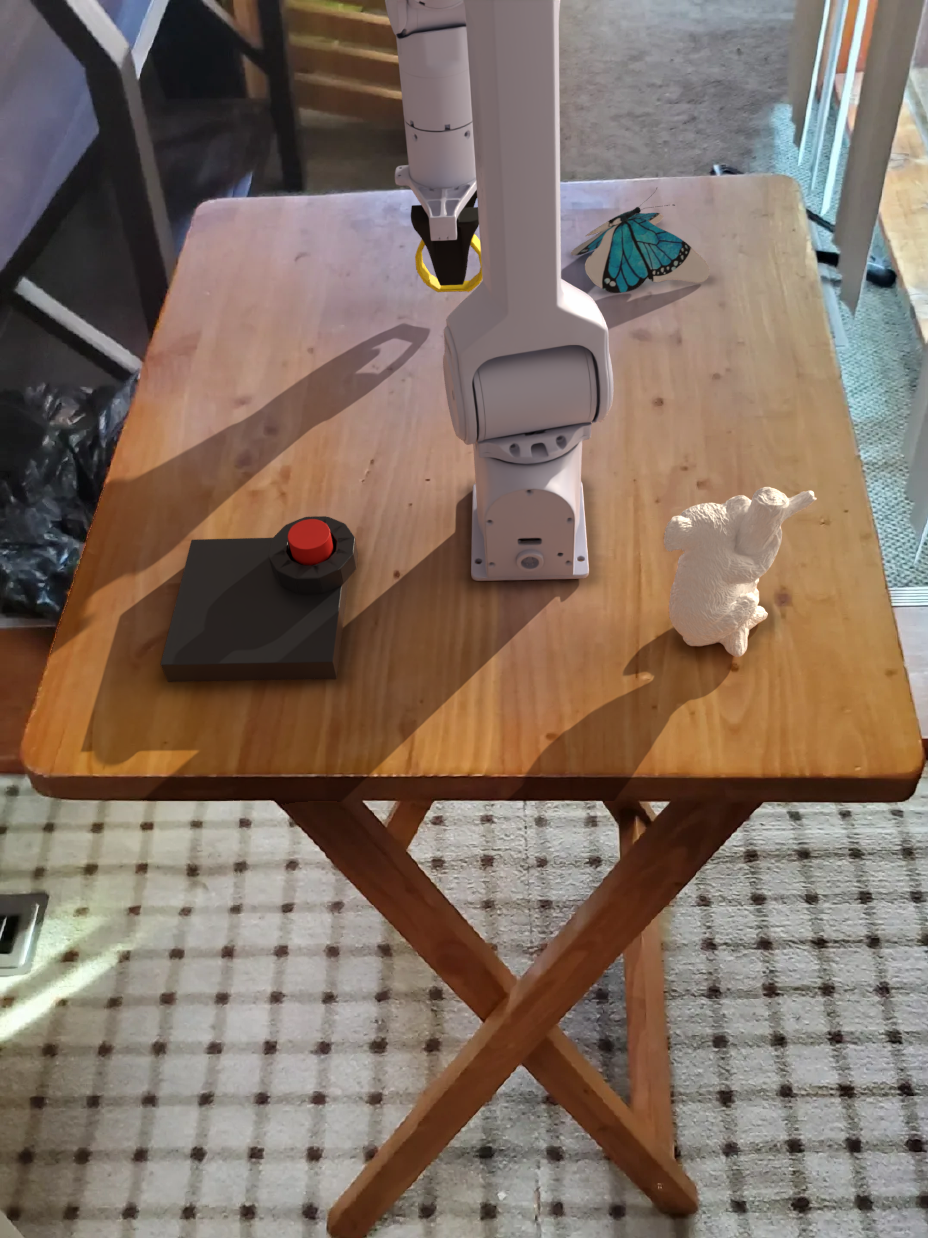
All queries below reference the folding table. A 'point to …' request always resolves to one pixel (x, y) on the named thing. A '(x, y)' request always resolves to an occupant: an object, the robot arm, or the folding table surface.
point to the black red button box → (259, 610)
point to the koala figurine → (726, 564)
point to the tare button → (310, 542)
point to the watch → (433, 281)
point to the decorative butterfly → (638, 254)
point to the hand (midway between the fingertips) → (452, 272)
